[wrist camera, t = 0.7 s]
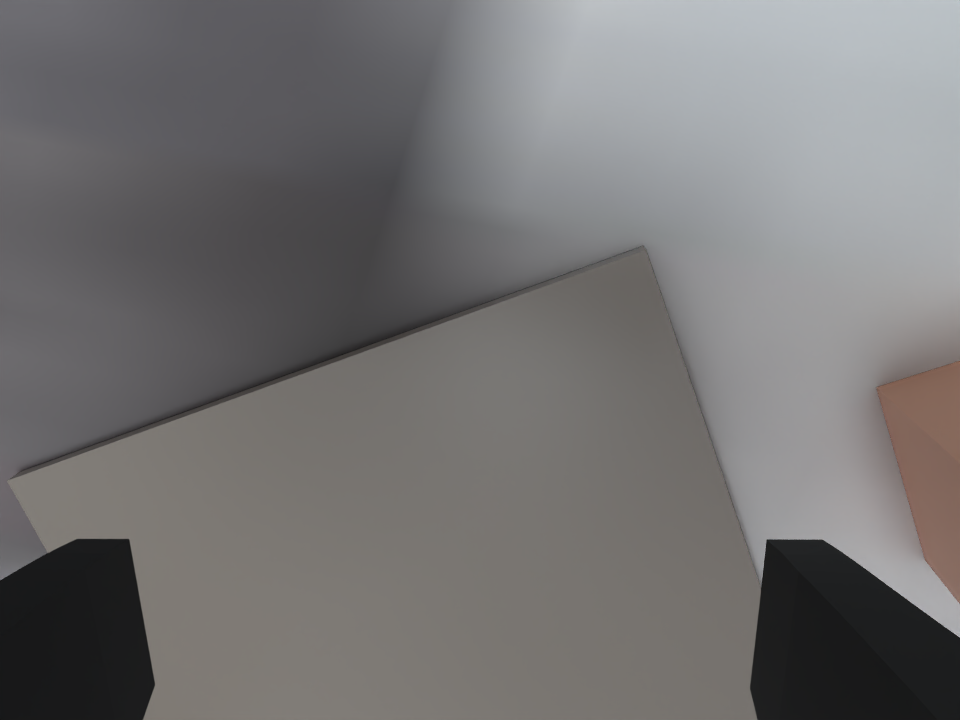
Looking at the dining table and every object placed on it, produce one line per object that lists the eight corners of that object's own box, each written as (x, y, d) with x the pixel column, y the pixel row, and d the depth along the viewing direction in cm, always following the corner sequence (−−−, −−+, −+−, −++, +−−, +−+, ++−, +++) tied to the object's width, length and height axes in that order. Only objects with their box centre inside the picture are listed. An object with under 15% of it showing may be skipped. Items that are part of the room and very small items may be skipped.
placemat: (797, 699, 22) (803, 712, 21) (229, 845, 25) (222, 860, 24) (643, 245, 19) (646, 249, 18) (19, 472, 22) (6, 480, 21)
